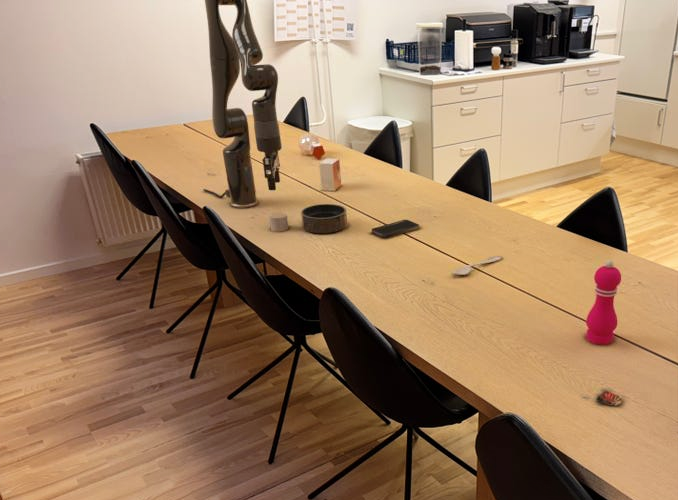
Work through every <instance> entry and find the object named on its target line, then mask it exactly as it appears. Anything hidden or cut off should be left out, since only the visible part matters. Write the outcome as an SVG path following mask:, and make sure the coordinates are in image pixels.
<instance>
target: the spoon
mask: <svg viewBox="0 0 678 500" xmlns="http://www.w3.org/2000/svg"><path fill="white" fill-rule="evenodd" d="M501 259H502V257H500V256H494V257H492V258H489V259H486V260H484V261H480V262H476V263H473V264H469V265H466V266H462V267H459V268H457V269H454V270H452V271H451V273H452V274H454V275H458V276H465V275H468V274H469V273H471V268H472V267H474V266H478V265H484V264H490V263H494V262H497V261H500V260H501Z"/></svg>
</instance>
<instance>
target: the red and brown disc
mask: <svg viewBox="0 0 678 500" xmlns="http://www.w3.org/2000/svg"><path fill="white" fill-rule="evenodd" d="M621 398H622V396H621V395H619V394H617V393H614V391H610V390H607V389H604V390H603V391H602V392H601V393H600V394H599V395H597V398H596V401H598V402H599V403H601V404H602V403H603V404H604V405H609V406H619V405H621V402H622V400H620V399H621Z"/></svg>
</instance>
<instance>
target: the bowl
mask: <svg viewBox="0 0 678 500" xmlns="http://www.w3.org/2000/svg"><path fill="white" fill-rule="evenodd" d="M300 216H301V226H302V227H301V228H302V229H304V230H305V231H307V232H309V233H312V234H321V235H323V234H325V235H326V234H333V233H336V232H339V231H342V230H344V229H345V228H347V226H348V215H347V208H345V206H343V205H339V204H334V203H320V204H314V205H309V206H307V207H304V208H303V209H302V210H300Z"/></svg>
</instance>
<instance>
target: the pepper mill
mask: <svg viewBox="0 0 678 500" xmlns="http://www.w3.org/2000/svg"><path fill="white" fill-rule="evenodd" d="M604 264H605V265H602V266H600V267H598V269H597V270H596V271H595V273H594V276H593V280H594V283H595V284H596V285H595V286H594V288H595V289H594V293H595V301H594V303H593V306H592V307H591V309H590V310H589V312H588V314H587V316H586V320H585V324H586V327H587V330H586V336H585V337H586V340H587V341H588V342H589V343H592V344H595V345H608V344H611V343H613V341H614V335H615V333H614V331H616V329H617V327H618V316H617V313H616V310H615V305H614V304H615V303H614V302H615V296H616V295H617V294H618V286H619V285H620V284H621V282H622V273H621V272H620V270H619V269H618V268H617V267H616V266H614V261H613V260H610V259H609V260H607V261H606V262H605V263H604Z"/></svg>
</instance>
